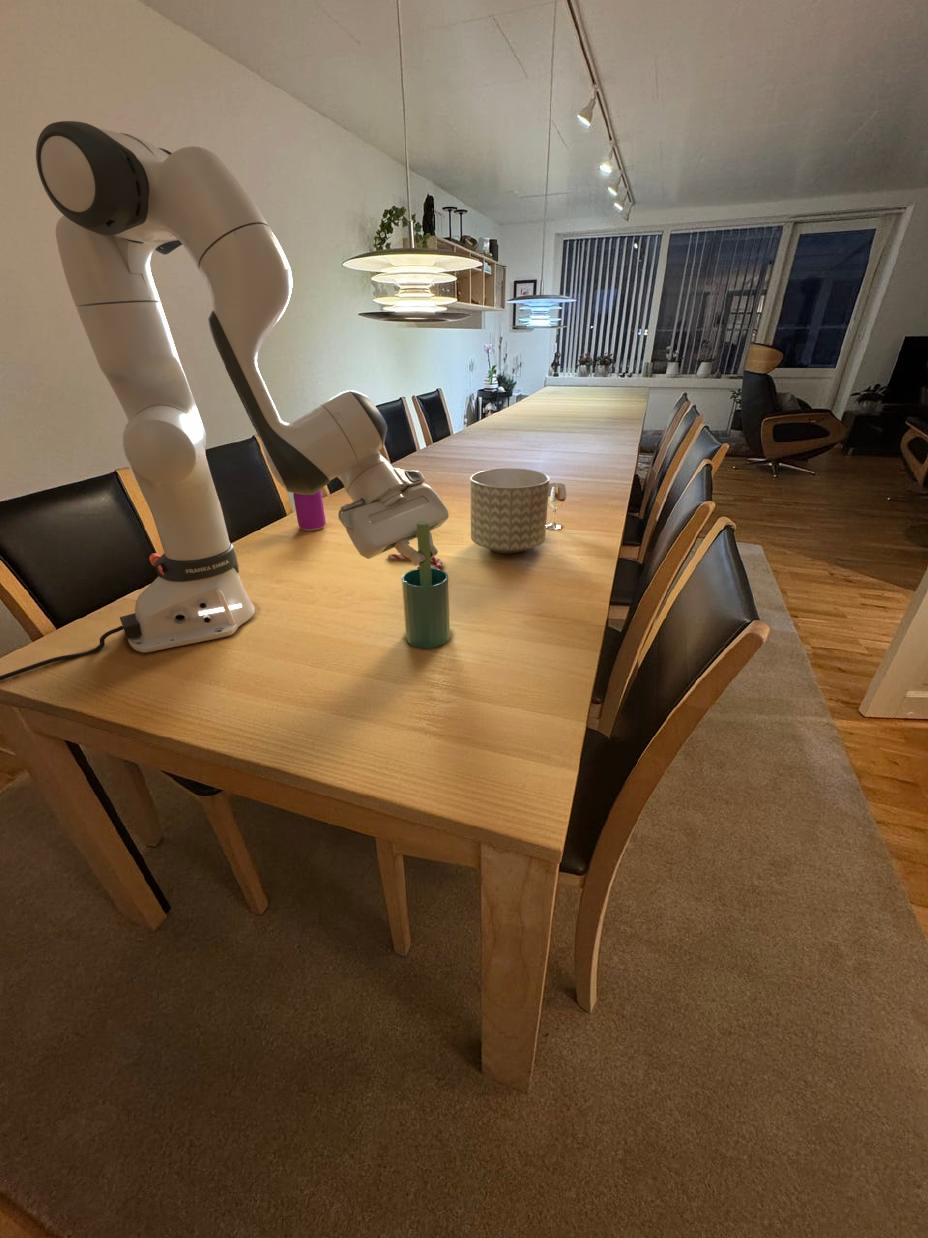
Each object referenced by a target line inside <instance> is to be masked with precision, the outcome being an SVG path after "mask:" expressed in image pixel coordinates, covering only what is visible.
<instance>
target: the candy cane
mask: <svg viewBox="0 0 928 1238" xmlns="http://www.w3.org/2000/svg"><path fill="white" fill-rule="evenodd" d="M387 558H388V560H410V558H407V557H406V556H404V555H402V554H400V553H389V554H388V556H387ZM410 561H411V560H410ZM431 563H435V564H436V565H431V568H435V569H439V570H442V568H443V565H444V564H443V561H442V560H441V558H438V557H436V556H434V557H432V558H431ZM416 569H419V566H417V567H416Z"/></svg>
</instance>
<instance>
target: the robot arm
mask: <svg viewBox="0 0 928 1238" xmlns="http://www.w3.org/2000/svg"><path fill="white" fill-rule="evenodd" d="M35 162H36V167H37V172H38V175H39V179H40V182H41V184H42V187H43V188H44V191H45V192H46V195H47V196H48V198H49V199H50V201H51V203H52V204H53V205H54V207H55V208H56V209H57V210H58V212H60V213H61V214H62V216H61V217H60V218H59V219H58V220H57V222H56V225H55V239H56V244H57V249H58V253H59V257H60V262H61V266H62V269H63V273H64V278H65V280H66V282H67V286H68V288H69V293H70V295H71V297H72V301H73V303H74V305H75V307H76V311H77V313H78V315H79V318H80V320H81V321H80V322H81V323H82V326H83V329H84V331H85V333H86V336H87V339H88V341H89V344H90V346H91V348H92V351H93V354H94V356H95V359H96V361H97V364H98V365H99V369H100V370H101V372H102V373H103V374H104V376H105V378H106V379H107V381H108V383H109V385H110V387H111V388H112V390H113V392H114V394H115V396H116V398H117V400H118V402H119V403H120V406H121V407H122V410H123V412H124V414H125V416H126V418H127V421H128V422H127V423H126V425H125V427H124V430H123V432H122V446H123V447H122V448H123V451H124V455H125V457H126V460H127V461H128V464H129V465H130V468H131V470H132V473H133V475H134V477H135V480H136V482H137V484H138V485H137V486H138V487H139V489H140V492H141V493H142V496H143V497H144V499H145V502H146V503H147V506H148V508H149V511H150V513H151V515H152V518H153V522H154V524H155V527H156V530H157V534H158V537H159V540H160V543H161V547H162V550H163V554H162V555H161V554H159V553H157V552H154V553H151V554H150V555H149V557H148V558H149V562H150V564H151V565H152V566H153V567H155V570H156V573H157V575H158V576H157V577H156V578H155V579H154V580H153V581H152V582H151V583H150V584H149V585H148V586H147V587H146V588H145V589H144V590H143V591H142V592H141V593H140V594H139V595H138V597H137V598H136V601H135V607H134V613H130V614H126V615H122V616H119V620H120V623H121V625H120V626H118V627H115V628H113V629H110V630H108V631H106V632H105V633H103V634H102V635H101V636H100V638H99V644H98V645H97V646H96V647H95V648H92V649H90V650H88V651H84V652H80V653H71V654H66V655H59V656H55V657H52V658H48V659H44V660H42V661H38V662H36V663H33V664H30V665H28V666H24V667H21V668H19V669H16V670H13V671H10V672H7V673H5V674H1V675H0V681H4V680H6V679H9V678H12V677H15V676H17V675H20V674H23V673H26V672H29V671H32V670H34V669H38V668H40V667H43V666H47V665H50V664H52V663H55V662H60V661H64V660H65V661H66V660H70V659H76V658H80V657H83V656H87V655H90V654H94V653H96V652H99V651H101V650H102V649H103V648H104V647H105V645H106V642H105V641H106V639H107V638H108V637H109V636H111V635H114V634H116V633H119V632H121V631H124V633H125V636H126V639H127V641H128V644H129V646H130V647H131V648H132V649H133V650H135V651H137V652H140V653H143V654H145V653H151V652H156V651H157V652H158V651H161V650H165V649H170V648H175V647H181V646H186V645H191V644H197V643H200V642H205V641H206V642H207V641H210V640H216V639H222V638H226V637H231V636H232V635H233V634H235V633H236V631H237V630H238V628H239V627H241V626H243V624H245V623H246V622H248V621H250V619H251V618H252V617H253V616H254V614H255V612H256V607H255V605H254V604H253V602H252V601H251V599H250V597H249V595H248V593H247V590H246V589H245V587H244V584H243V582H242V580H241V579H242V578H241V576H240V574H239V573H240V569H239V567H240V566H239V561H238V557H237V553H236V550H235V547H234V545H233V544H232V543H231V542H230V538H229V533H228V529H227V526H226V522H225V517H224V513H223V508H222V505H221V501H220V499H219V496H218V492H217V490H216V486H215V484H214V480H213V477H212V473H211V470H210V465H209V462H208V459H207V456H206V455H207V454H206V446H207V433H206V429H205V426H204V423H203V421H202V418H201V414H200V412H199V409H198V407H197V404H196V400H195V398H194V395H193V393H192V390H191V387H190V384H189V381H188V380H187V379H188V378H187V376H186V374H185V371H184V369H183V366H182V363H181V360H180V357H179V355H178V352H177V348H176V346H175V342H174V339H173V336H172V333H171V329H170V327H169V323H168V320H167V317H166V315H165V312H164V309H163V305H162V302H161V298H160V297H159V293H158V290H157V288H156V285H155V282H154V278H153V276H152V271H151V258H152V255H153V253H154V251H156V252H158V253H159V254H161V255H165V256H167V255H168V254H170V253H172V252H173V251H175V250H176V249H178V248H179V247H181V246H183V247H184V249H185V250H186V252H187V253H188V255H189V257H190V258H191V259H192V261H193V263H194V264H195V266H196V268H197V269H198V270H199V272H200V273H201V275H202V277H203V278H204V280H205V283H206V284H207V287H208V289H209V293H210V296H211V297H210V298H211V301H212V310H211V312H210V314H209V316H208V318H207V321H208V326H209V330H210V334H211V337H212V339H213V342H214V345H215V347H216V349H217V352H218V354H219V356H220V358H221V360H222V362H223V364H224V367H225V371H226V372H227V374H228V377H229V379H230V381H231V382H232V384H233V387H234V389H235V391H236V393H237V396H238V398H239V399H240V402H241V403H242V406H243V408H244V410H245V412H246V414H247V416H248V418H249V420H250V422H251V425H252V426H253V428H254V431H255V432H256V434H257V436H258V438H259V440H260V443H261V446H262V449H263V453H264V456H265V460H266V462H267V465H268V468H269V470H270V471H271V473H272V475H273V476H274V478H275V480H276V481H277V483H279V485H281V487H283V488H284V489H285V490H286V491H287V492H289V493H291V494H294V493H296V494H302V495H314V494H315V493H316V492H318V491H319V490H320V491H321V489H323V488H324V487H326V486H327V485H329V484H330V482H331V481H333V480H334V479H336V478H337V479H338V480H340V481H341V483H342V485H343V487H344V490H345V492H346V494H347V495H348V497H349V498H350V499H351V500H352V502H350V503H346V504H343V505H342V506H340V509H339V511H338V514H337V515H338V520H339V521H340V523H341V524H342V525H343V527H344V528H345V530H346V533H347V535H348V536H349V538H350V541H351V542H352V544H353V545H354V547H355V549H356V550H357V552H358V553H359V555H360V556H361V557H362V558H365V559H367V560H370V559H372V558H375V557H377V556H379V555H381V554H383V553H385V552H388V551H390V550H392V549H395V550H396V551H397V552H398V554H402V555H404V556H406V557H407V558H410V561H411V563H412V564H413V565H414V566H415V567H416V566H417V567H418V566H419V564H421V563H422V562H423V561H424V560H425V556H424V555H423V553H422V552H421V551H420V550H419V551H418V550H416V549H414V548H413V547H412V546H410V541H412V540H414V539H416V540H418V538H417V522H419V521H427V522H429V536H430V555H431V558H432V557H436V556H437V555H438V553H439V551H438V549H437V547H436V546H435V545H434V541H433V536H432V531H433V530H436V529H438V528H440V527H441V526H442V525H443V524H444V523H446V521H447V520H448V519H449V518H450V517H449V516H450V515H449V511H448V508H447V506H446V505H445V503H444V502H443V501H442V499H441V498H440V496H439V495H438V494H437V493H436V491H435V490H434V489H433V488H432V487H431V486H430V485H428V484H426V483H424V482H425V480H426V479H425V477H424V475H423V473H422V472H421V471H419V470H411V469H402V468H399V467H394V466H392V464H391V462H389V461H388V460H387V459H386V458H385V457H384V456H383V455H382V454H381V450H382V449H384V446H385V440H386V438H387V433H388V432H387V431H388V424H387V422H386V420H385V418H384V417H383V415H382V414H381V412H380V411H379V409H378V407H376V405H375V404H374V402H373V401H372V400H371V399H370V396H368V395H366V394H363V393H361V392H360V391H356V390H351V389H347V390H346V391H343V392H339V393H338V394H337V395H335V396H333V397H331V398H329V399H328V400H326V401H324V402H323V403H321V404H319V406H317V407H316V408H314V409H312V410H311V411H309V412H307V413H305V414H304V415H302V416H300V417H298V418H296V420H293V421H291V422H284V421H283V420H282V419H281V416H280V415H279V412H278V410H277V408H276V405H275V403H274V402H273V399H272V397H271V395H270V393H269V391H268V388H267V386H266V384H265V381H264V380H263V378H262V374H261V373H260V370H259V367H258V355H259V351H260V350H261V347H262V345H263V343H264V342H265V340H266V339H267V337H268V336H269V335H270V333H271V332H272V330H273V329H274V328H275V326H276V325H277V323H278V322H279V320H280V319H281V318H282V316H283V315H284V313H285V311H286V308H287V307H288V304H289V301H290V298H291V294H292V290H293V289H292V288H293V275H292V269H291V266H290V263H289V262H288V259H287V257H286V254H285V252H284V251H283V248H282V246H281V245H280V243H279V241H278V239H277V238H276V236H275V234H274V232H273V231H272V229H271V227H270V225H269V224H268V222H267V221H266V219H265V217H264V216H263V214H262V213H261V211H260V209H259V207H258V206H257V205H256V204H255V202H254V201H253V200H254V199H252V198H251V196H250V194H249V193H248V192H247V190H246V189H245V188H244V186H243V185H242V183H240V181H239V180H238V178H237V177H236V176H235V174H234V173H233V172H232V170H231V169H229V167H228V166H227V165H226V164H225V162H224V161H223V160H222V158H220V157H219V156H218V155H216V153H214V152H213V151H210V150H209V149H206V148H205V147H201V146H186V147H182V148H178V149H177V150H174V151H173V152H172V151H169V150H167V149H165V148H161V147H157V146H156V145H154V144H152V143H149V142H148V141H145V140H143V139H141V138H139V137H137V136H134V135H131V134H129V133H124V132H116V131H113V130H109V129H104V128H100V127H96V126H94V125H92V124H89V123H87V122H83V121H76V120H62V121H56V122H52V123H49V124H47V125H46V126H45V127H44V128H43V129H42V130H41V132H40V134H39V136H38V138H37V142H36V147H35Z"/></svg>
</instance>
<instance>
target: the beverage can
mask: <svg viewBox="0 0 928 1238" xmlns="http://www.w3.org/2000/svg"><path fill="white" fill-rule="evenodd" d="M292 494H293V495H292V496H293V502H294V509H295V513H296V519H297V525H298V527H299V528H300V529H301V530H302V531H305V532H314V531H319V530H322V529H324V527H325V526H326V524H327V521H326V515H325V507H324V501H323V500H324V499H323V493H322V491H321V489H320V490H319V491H318V492H316V493H315V494H314V495H302V494H296V493H292Z"/></svg>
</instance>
